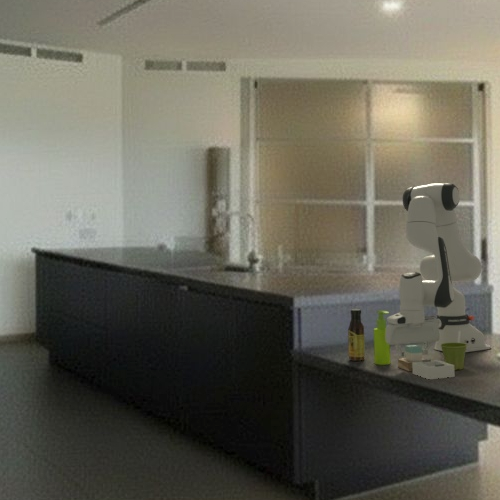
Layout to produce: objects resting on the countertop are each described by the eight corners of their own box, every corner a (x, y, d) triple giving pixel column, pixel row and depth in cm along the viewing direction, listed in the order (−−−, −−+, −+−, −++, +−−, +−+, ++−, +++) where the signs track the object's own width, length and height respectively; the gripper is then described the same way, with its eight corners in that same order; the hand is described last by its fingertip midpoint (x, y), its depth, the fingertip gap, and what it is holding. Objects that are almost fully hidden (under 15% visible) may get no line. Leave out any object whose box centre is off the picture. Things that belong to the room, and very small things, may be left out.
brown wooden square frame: (418, 364, 280) (418, 356, 280) (431, 369, 271) (431, 361, 271) (397, 366, 278) (397, 358, 278) (409, 371, 269) (409, 363, 269)
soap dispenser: (382, 365, 281) (381, 312, 280) (371, 363, 287) (369, 310, 286) (395, 363, 284) (393, 310, 283) (384, 361, 290) (382, 309, 289)
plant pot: (463, 372, 265) (463, 347, 264) (437, 370, 270) (436, 345, 269) (471, 367, 273) (470, 343, 272) (445, 365, 278) (444, 341, 277)
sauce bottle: (347, 359, 297) (345, 308, 297) (362, 358, 298) (361, 307, 297) (350, 362, 291) (349, 310, 290) (366, 361, 291) (365, 309, 291)
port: (438, 371, 268) (437, 358, 267) (454, 376, 257) (454, 363, 257) (412, 373, 265) (412, 360, 265) (428, 379, 254) (427, 366, 254)
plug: (415, 366, 277) (415, 344, 277) (422, 369, 273) (421, 346, 272) (405, 367, 276) (405, 345, 276) (412, 369, 272) (411, 347, 271)
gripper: (433, 314, 280) (434, 351, 280) (382, 318, 274) (383, 356, 275) (442, 316, 273) (443, 354, 274) (390, 320, 268) (391, 358, 269)
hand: (413, 355), depth 274 cm, fingers open, 8 cm apart
